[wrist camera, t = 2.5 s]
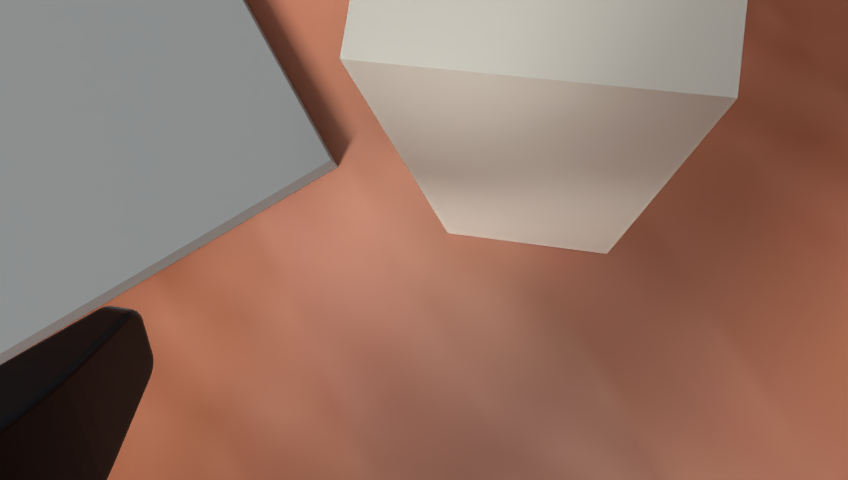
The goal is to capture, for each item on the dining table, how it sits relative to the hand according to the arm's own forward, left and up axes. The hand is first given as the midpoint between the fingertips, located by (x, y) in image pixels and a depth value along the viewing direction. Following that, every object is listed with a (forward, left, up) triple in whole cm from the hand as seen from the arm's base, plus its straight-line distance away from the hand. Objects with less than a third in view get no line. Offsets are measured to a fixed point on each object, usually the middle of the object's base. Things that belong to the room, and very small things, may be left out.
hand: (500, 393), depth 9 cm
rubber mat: (-9, +16, -12) cm, 22 cm away
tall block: (+4, +5, -12) cm, 14 cm away
